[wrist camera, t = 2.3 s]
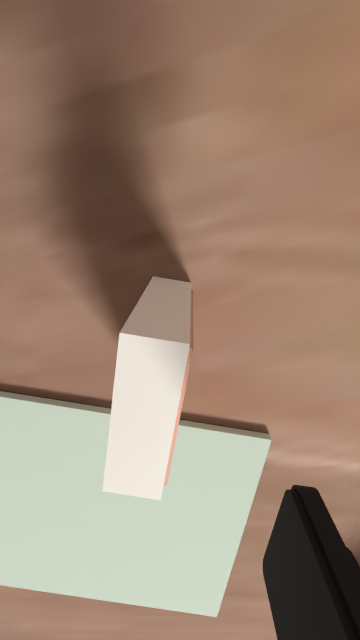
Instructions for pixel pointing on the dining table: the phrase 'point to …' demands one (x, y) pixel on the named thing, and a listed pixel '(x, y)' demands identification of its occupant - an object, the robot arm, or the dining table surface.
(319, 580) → the robot arm
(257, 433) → the mat
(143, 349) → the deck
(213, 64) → the dining table surface
